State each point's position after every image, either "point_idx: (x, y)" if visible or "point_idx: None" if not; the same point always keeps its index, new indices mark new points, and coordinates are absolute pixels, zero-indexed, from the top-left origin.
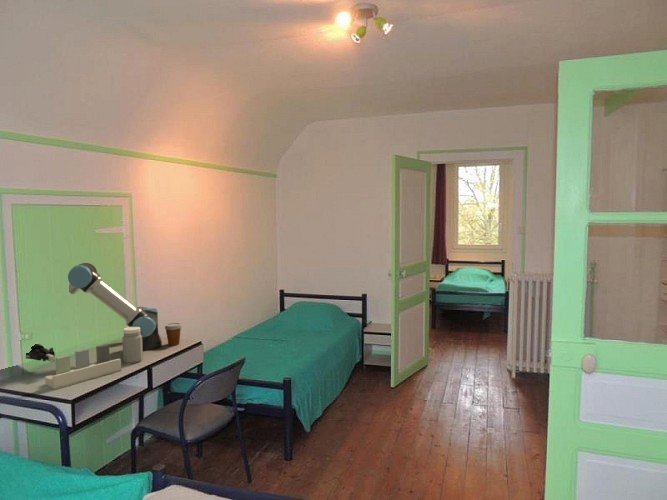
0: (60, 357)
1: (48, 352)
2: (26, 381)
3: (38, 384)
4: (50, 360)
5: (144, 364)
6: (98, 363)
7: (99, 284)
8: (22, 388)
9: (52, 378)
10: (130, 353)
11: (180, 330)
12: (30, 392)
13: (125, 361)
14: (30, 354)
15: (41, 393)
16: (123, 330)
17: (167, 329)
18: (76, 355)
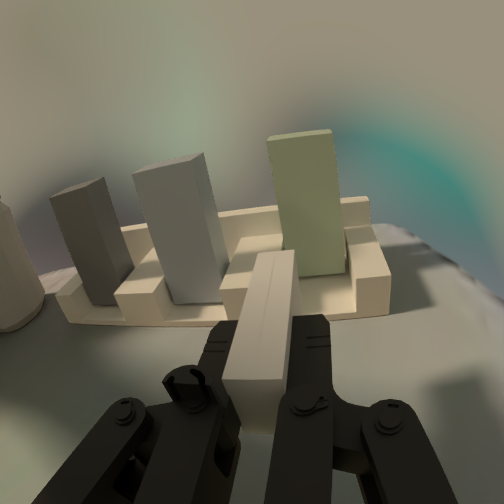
0: (311, 132)
1: (212, 383)
2: (481, 431)
3: (421, 333)
4: (299, 309)
5: (56, 276)
6: (124, 265)
7: None
8: (495, 323)
9: (364, 243)
10: (29, 262)
11: None
12: (455, 268)
13: (37, 304)
14: None
15: (417, 245)
16: None
17: None
18: (202, 180)
